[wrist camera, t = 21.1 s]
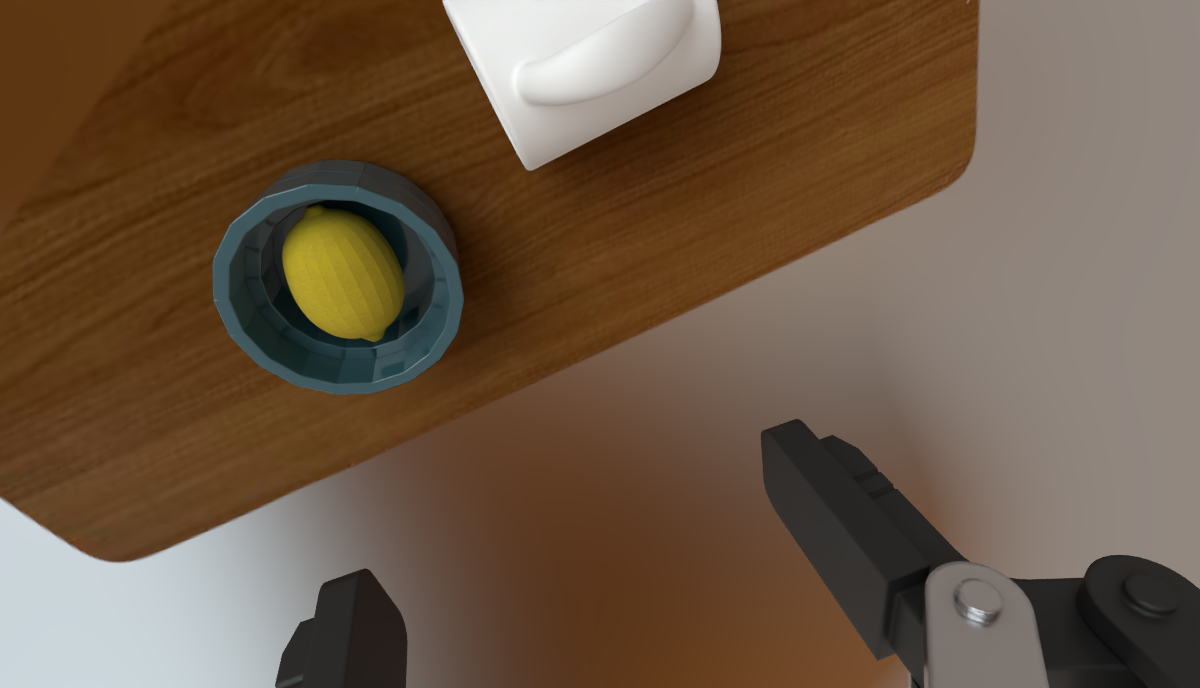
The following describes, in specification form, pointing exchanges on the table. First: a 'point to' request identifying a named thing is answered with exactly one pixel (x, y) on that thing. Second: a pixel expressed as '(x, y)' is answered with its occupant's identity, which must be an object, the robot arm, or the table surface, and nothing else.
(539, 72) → the mug
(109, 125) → the table surface
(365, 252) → the lemon
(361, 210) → the bowl
